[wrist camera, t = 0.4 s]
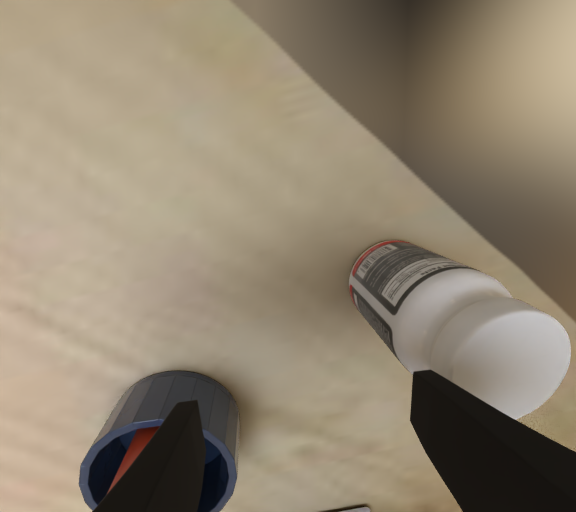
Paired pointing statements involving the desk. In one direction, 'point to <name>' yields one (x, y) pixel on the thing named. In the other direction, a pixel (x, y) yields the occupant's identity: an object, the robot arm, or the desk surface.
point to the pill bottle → (460, 326)
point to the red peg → (134, 450)
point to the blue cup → (152, 412)
